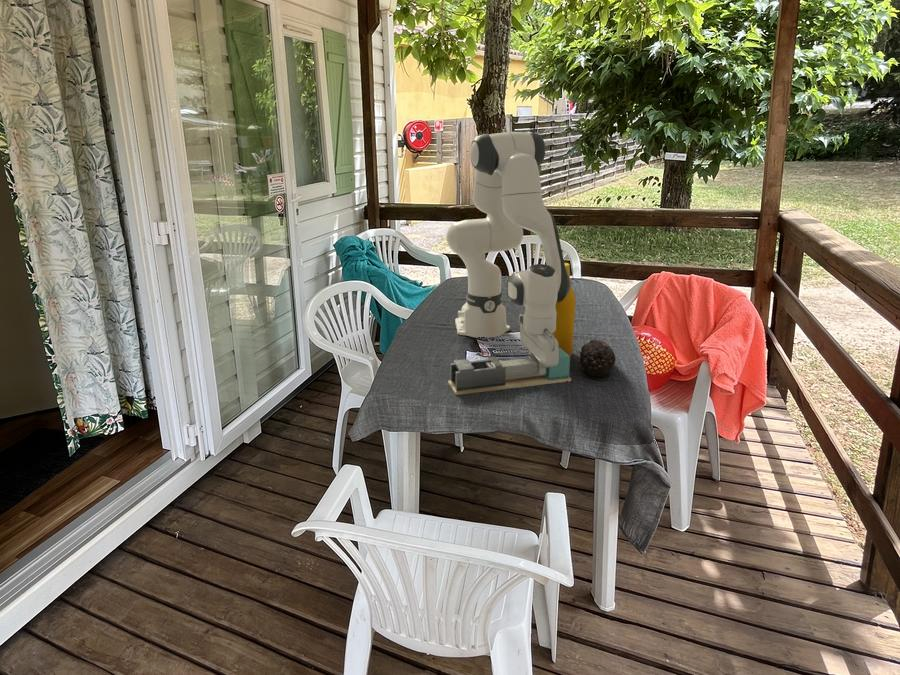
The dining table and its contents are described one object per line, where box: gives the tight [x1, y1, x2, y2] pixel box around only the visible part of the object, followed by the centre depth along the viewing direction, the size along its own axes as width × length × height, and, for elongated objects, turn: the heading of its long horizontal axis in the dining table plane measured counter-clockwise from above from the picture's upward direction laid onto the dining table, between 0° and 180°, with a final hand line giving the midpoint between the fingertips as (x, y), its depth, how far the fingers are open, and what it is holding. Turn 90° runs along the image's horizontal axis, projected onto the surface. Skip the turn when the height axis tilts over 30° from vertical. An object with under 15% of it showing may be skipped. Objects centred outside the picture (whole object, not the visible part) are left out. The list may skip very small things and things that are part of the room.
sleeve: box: [449, 355, 506, 391], centre depth 176 cm, size 7×14×6 cm, turn 104°
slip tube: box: [486, 357, 548, 380], centre depth 178 cm, size 4×20×4 cm, turn 104°
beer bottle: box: [552, 262, 576, 357], centre depth 193 cm, size 9×9×29 cm
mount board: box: [447, 375, 572, 396], centre depth 179 cm, size 8×34×1 cm, turn 104°
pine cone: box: [578, 339, 616, 381], centre depth 185 cm, size 10×18×10 cm, turn 175°
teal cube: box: [544, 348, 571, 380], centre depth 181 cm, size 7×6×7 cm
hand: (537, 369), depth 180 cm, fingers closed on slip tube, 4 cm apart
